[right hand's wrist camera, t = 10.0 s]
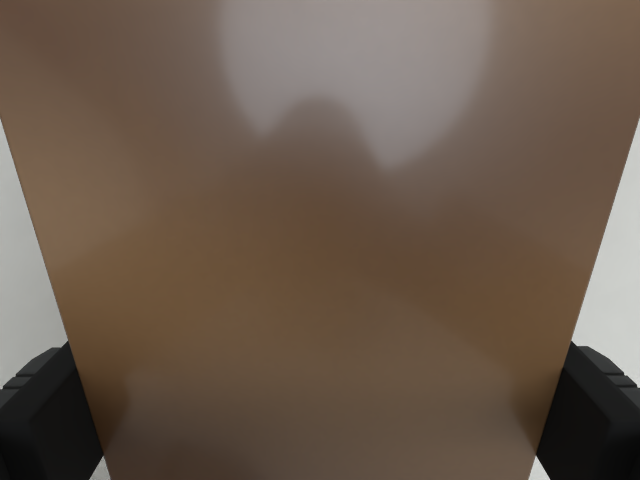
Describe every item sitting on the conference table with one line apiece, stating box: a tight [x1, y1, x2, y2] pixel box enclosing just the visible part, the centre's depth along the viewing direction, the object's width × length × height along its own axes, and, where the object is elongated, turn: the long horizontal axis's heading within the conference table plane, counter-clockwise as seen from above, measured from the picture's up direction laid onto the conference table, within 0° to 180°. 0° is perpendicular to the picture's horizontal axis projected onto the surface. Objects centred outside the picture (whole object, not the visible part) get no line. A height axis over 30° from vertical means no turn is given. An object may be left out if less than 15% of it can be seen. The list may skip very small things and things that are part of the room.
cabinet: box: [0, 0, 640, 480], centre depth 10 cm, size 21×10×8 cm, turn 0°
